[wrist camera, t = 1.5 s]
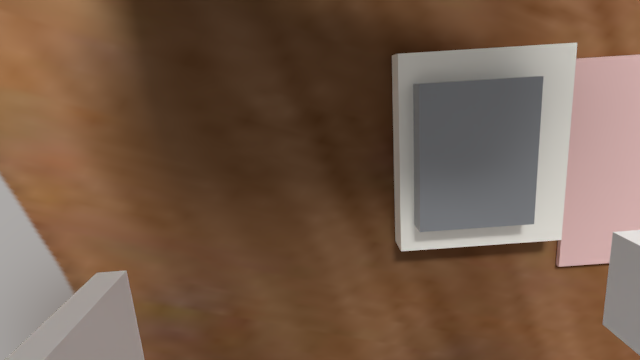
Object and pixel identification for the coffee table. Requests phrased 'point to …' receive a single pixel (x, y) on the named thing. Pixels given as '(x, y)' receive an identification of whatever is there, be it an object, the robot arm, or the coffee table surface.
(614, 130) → the felt mat
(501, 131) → the coaster
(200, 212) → the coffee table surface
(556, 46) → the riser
